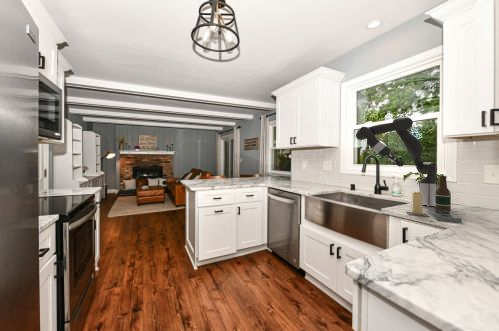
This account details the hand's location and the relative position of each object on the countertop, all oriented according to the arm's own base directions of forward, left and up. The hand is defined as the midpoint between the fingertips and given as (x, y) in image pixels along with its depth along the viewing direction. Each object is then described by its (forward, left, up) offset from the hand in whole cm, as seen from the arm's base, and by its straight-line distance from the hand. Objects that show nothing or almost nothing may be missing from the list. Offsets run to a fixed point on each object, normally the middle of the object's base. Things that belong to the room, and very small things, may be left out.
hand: (401, 165), depth 143 cm
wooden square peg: (+5, +8, -30) cm, 32 cm away
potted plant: (-15, +25, -31) cm, 42 cm away
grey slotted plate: (+5, +20, -31) cm, 37 cm away
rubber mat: (+5, +8, -31) cm, 32 cm away
